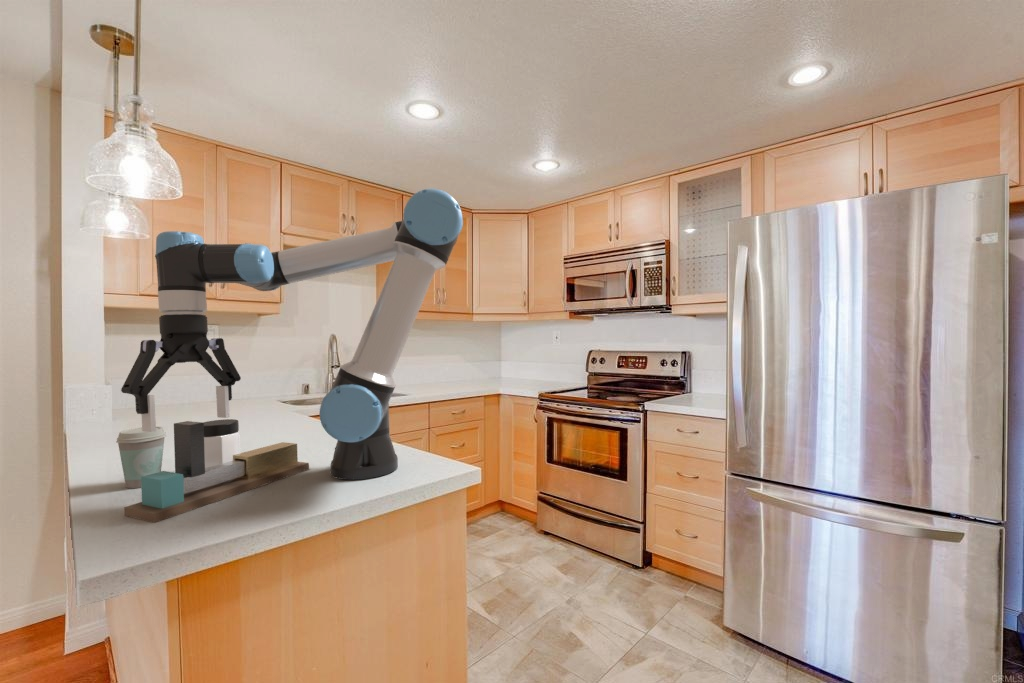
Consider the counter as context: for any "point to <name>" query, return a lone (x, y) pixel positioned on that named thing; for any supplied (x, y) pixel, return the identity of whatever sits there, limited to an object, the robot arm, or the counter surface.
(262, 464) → the brass sleeve
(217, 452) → the jar
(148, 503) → the teal socket
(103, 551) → the counter surface
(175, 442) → the steel bar
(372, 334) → the robot arm
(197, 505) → the walnut board
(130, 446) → the coffee cup
